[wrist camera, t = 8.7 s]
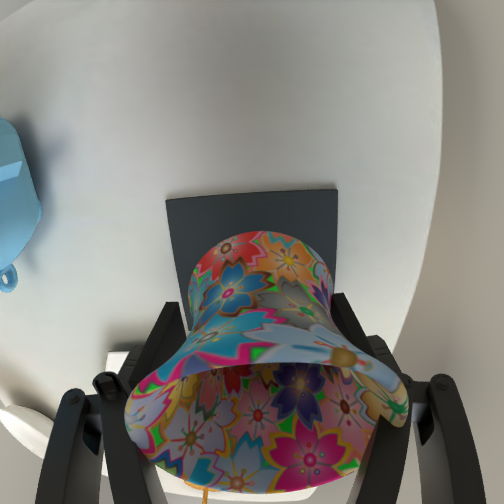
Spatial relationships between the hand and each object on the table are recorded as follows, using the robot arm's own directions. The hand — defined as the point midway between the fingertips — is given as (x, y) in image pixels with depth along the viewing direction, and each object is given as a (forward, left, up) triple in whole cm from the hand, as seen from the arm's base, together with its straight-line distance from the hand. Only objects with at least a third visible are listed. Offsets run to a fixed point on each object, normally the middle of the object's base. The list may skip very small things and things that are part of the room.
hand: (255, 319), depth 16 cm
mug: (+1, 0, -2) cm, 2 cm away
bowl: (+42, +32, -8) cm, 53 cm away
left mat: (0, 0, -7) cm, 7 cm away
